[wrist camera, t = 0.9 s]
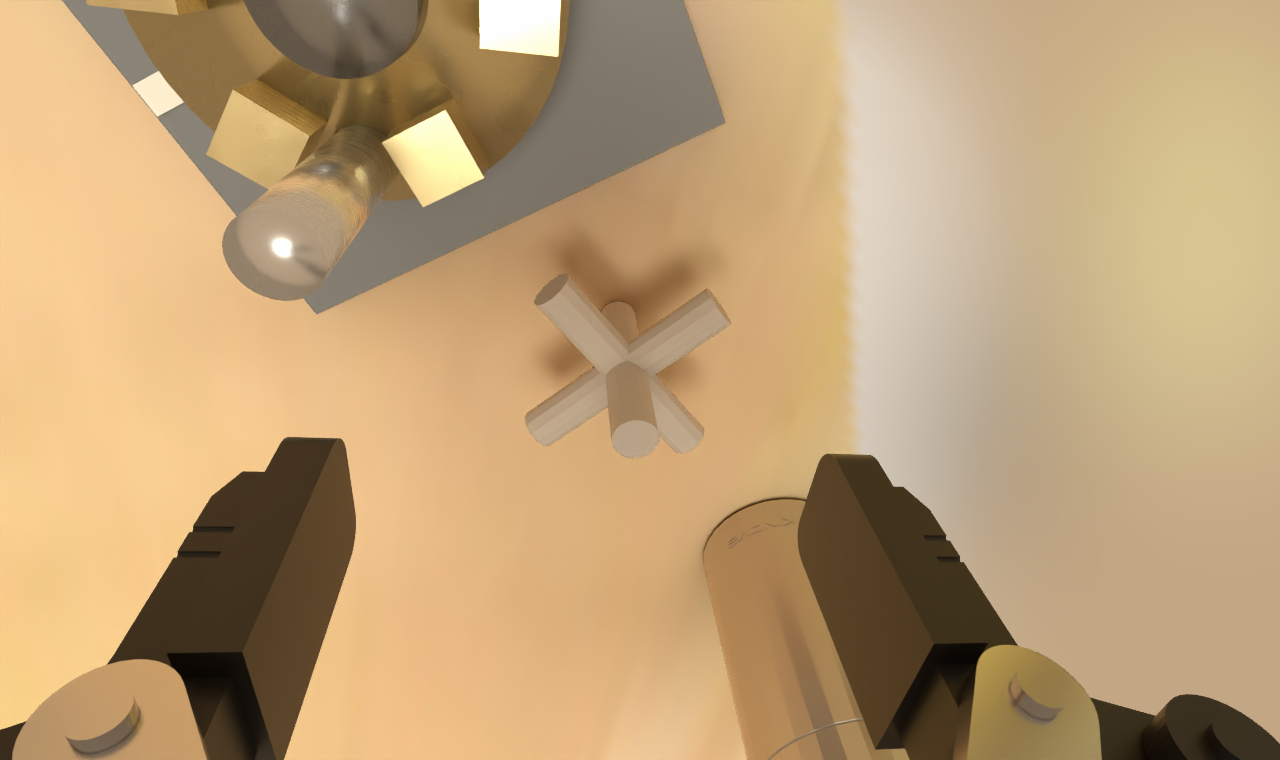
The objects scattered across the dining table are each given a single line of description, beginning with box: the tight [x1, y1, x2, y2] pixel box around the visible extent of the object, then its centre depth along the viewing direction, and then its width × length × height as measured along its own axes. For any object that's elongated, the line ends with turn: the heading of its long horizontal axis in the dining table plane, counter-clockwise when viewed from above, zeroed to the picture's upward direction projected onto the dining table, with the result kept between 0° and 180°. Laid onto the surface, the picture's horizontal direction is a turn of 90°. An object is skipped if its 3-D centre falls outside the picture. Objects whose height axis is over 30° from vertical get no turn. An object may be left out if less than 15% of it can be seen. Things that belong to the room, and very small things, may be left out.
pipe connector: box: [525, 274, 731, 458], centre depth 30 cm, size 10×10×10 cm
